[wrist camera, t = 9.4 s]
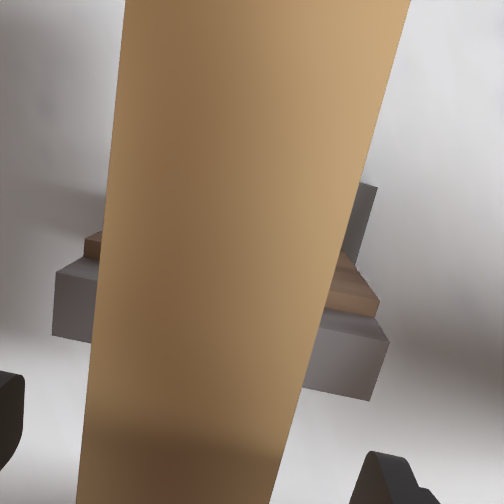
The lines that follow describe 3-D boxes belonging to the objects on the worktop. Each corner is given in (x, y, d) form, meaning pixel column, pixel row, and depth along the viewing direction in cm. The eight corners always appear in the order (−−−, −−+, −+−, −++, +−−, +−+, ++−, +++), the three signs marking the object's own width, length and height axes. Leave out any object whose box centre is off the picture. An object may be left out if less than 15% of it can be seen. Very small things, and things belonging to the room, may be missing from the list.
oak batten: (353, 12, 11) (453, -152, 5) (215, 568, 16) (187, 794, 11) (214, -18, 11) (147, -222, 5) (127, 550, 16) (49, 768, 11)
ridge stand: (370, 185, 23) (464, 218, 12) (321, 354, 26) (359, 503, 15) (148, 137, 23) (34, 126, 12) (126, 313, 26) (20, 434, 15)
